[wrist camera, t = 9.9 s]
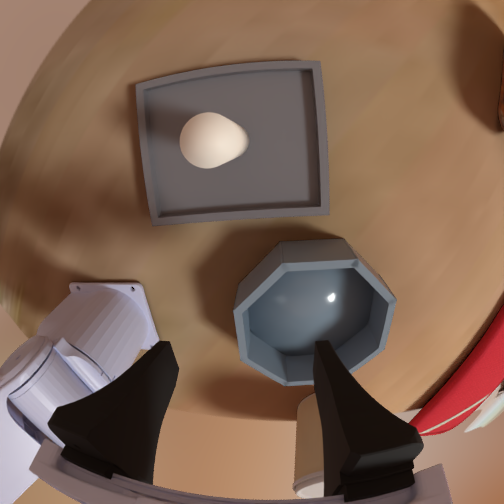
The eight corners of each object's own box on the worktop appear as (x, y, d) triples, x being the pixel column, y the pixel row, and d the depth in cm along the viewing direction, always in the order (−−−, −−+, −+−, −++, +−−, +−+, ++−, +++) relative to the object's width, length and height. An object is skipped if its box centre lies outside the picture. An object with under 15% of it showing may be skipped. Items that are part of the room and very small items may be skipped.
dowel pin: (215, 160, 18) (183, 171, 11) (212, 125, 17) (177, 117, 10) (250, 156, 18) (238, 165, 11) (247, 121, 17) (233, 108, 10)
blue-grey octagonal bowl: (247, 357, 26) (244, 387, 23) (233, 243, 22) (226, 265, 18) (366, 349, 25) (376, 376, 21) (384, 236, 20) (404, 255, 17)
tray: (159, 220, 21) (152, 226, 20) (144, 87, 17) (135, 84, 16) (325, 209, 20) (329, 215, 19) (316, 66, 16) (320, 60, 14)
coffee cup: (283, 423, 31) (283, 500, 20) (301, 381, 27) (308, 478, 16) (347, 423, 31) (359, 495, 20) (375, 383, 27) (399, 466, 16)
